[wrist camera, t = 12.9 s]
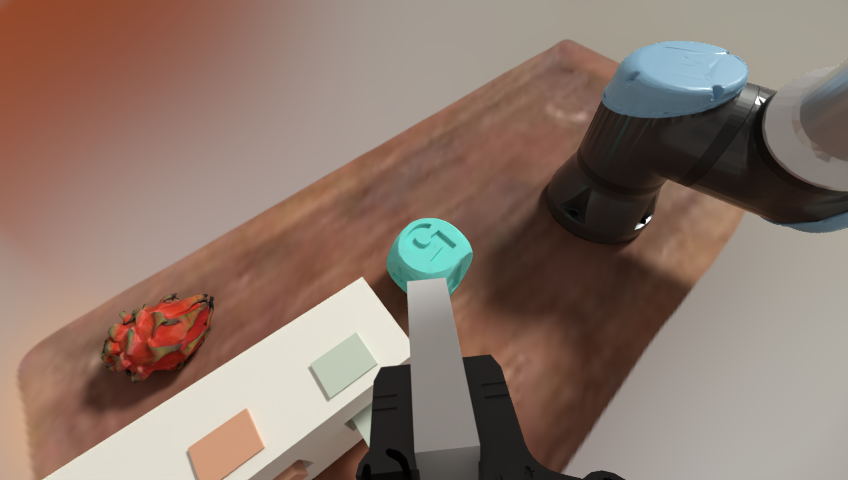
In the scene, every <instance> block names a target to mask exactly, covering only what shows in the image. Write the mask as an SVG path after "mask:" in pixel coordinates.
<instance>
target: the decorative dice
mask: <svg viewBox="0 0 848 480" xmlns="http://www.w3.org/2000/svg"><path fill="white" fill-rule="evenodd" d="M472 257H473V253H472V249H471V246H470V244H469V242H468V240H467V239H466V238H465V236H464V235H463V234H462V233H461V232H460V231H459V230H458V229H456V228H455V227H454V226H452V225H451V224H449V223H447V222H445V221H443V220H440V219H435V218H425V219H419V220H416V221H414V222H412V223H410V224H409V225H408V226H407V227H405V228H404V229H403V231H402V232H401V233H400V234H399V236H398V237H397V238H396V240H395V241H394V243H393V245H392V247H391V249H390V251H389V254H388V257H387V270H388V272H389V274H390V276H391V278H392V279H393V280H394V282H395V283H396V284H397V285H398V286H399V287H400V288H401V289H402V290H403V291H404V292H405V293H407V281H417V280H427V279H437V278H446V282H447V287H448V292H449V296H451V295H452V293H453V292H454V291H455V289H456V288H457V287H458V285H459V284H460V282H461V281H462V279H463V277H464V276H465V274H466V272H467V270H468V268H469V266H470V264H471V261H472Z"/></svg>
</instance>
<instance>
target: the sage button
mask: <svg viewBox="0 0 848 480" xmlns="http://www.w3.org/2000/svg"><path fill="white" fill-rule="evenodd" d="M371 413H372V402H371V403H370V404H369V405H368V406H366V407H365V408H364V409H362V410H361V411H360V412H359V413H357V414H356V415H355V416H353V417H352V419H353V421H354V423H355V424H356V426H357V428H358V430H359V431H360V433H361V435H362V436H363V438H364V440H365V441H366V443H367V445H368V446H369V444H370V429H371Z"/></svg>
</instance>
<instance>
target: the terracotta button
mask: <svg viewBox="0 0 848 480" xmlns="http://www.w3.org/2000/svg"><path fill="white" fill-rule="evenodd" d="M308 475H309V474H308V472H307V470H306V468H305V466H304V464H303V462H302V460H299V459H298V460H297V461H296V462H294V463H293V464H292V465H290V466H289V467H288V468H287V469H285V470H284V471H283V472H281V473H280V474H279V475H278V476H276V477H275V478H274V479H272V480H303V479H304V478H305V477H306V476H308Z"/></svg>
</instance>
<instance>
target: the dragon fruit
mask: <svg viewBox="0 0 848 480" xmlns="http://www.w3.org/2000/svg"><path fill="white" fill-rule="evenodd" d="M204 292H205V291H204ZM175 295H177V293H174V294H171V295H167V296H165V297H163V298H162V299H161V300H160V302H159V304H157V305H156V306H154V307H151V306H150V305H149V304H144V306H143V309H136V310H135V311H133V313H132V315H129V314H127V313H125V311H122V312H121V313H120V314H119V316H120V317H121V318H122V319H123V320H124V322H123V324H122V323H116V324H114V325H113V326H112V327H111V328H110V329H109V331H108V334H109V335H110V336H109V337H108V338H107V339H106V340H105V344H104V348H103V351H102V353H101V355H100V357H101V358H102V360H103V361H104V362H105V363H112V362H113V363H114V364H113V366H111V367H108V366H107V369H109V370H111V371H114V372H120V371H123V370H125V369H126V371H125V372H126V373H127V375H128V376H131V375H132V377H131V380H132V382H133V383H136V382H143V381H144V380H145V379H146V378H147V377H148V376H149V374H150V373H151V372H152V371H154V370H169V371H174V370H179V369H181V368H182V367H183V366H184V362H183V361H184V360H186V359H187V358H188V356H189V355H190V354H191V353H193V352H194V351H195V350H196V349H198V347H199V345H200V344H203V343H204V341H205V339H206V337H207V336H208V333H209V332H210V330H211V326H210V321H211V317H212V314H213V311H214V305H213V300H214V298H213V297H210V301H209V302H207V301H208V300H207V298H206V297H207V296H208V295H206V294H196V295H192V296H190V297H188V298H186V299H183V300H181V301H179V299H178V298H176V296H175ZM170 299H172V301H171V302H169V303H168V304H167V303H166V302H165V301H166V300H170ZM202 302H206V303H205V304H202ZM198 303H200V304H198ZM208 305H209V307H208ZM209 326H210V327H209Z"/></svg>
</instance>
